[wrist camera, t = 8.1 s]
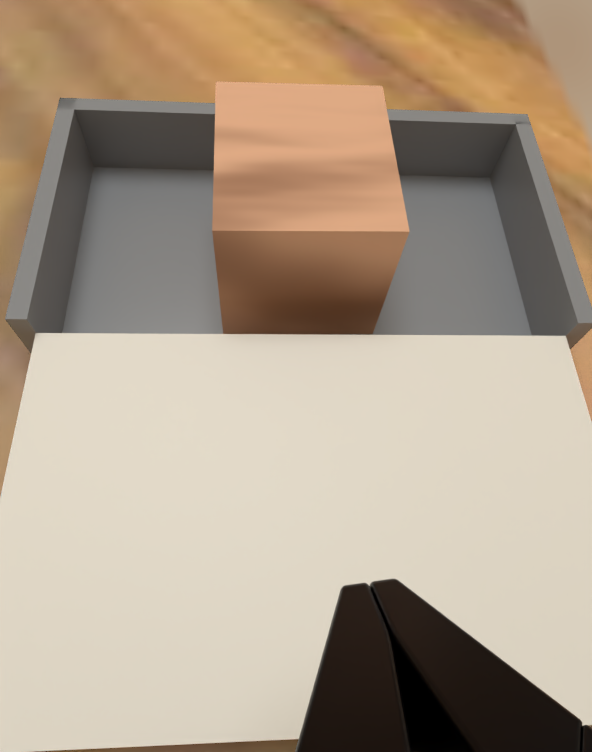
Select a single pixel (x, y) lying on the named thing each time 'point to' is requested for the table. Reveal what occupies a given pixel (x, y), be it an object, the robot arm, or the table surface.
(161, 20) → the table surface
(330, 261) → the block
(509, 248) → the box
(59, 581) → the cream slab
